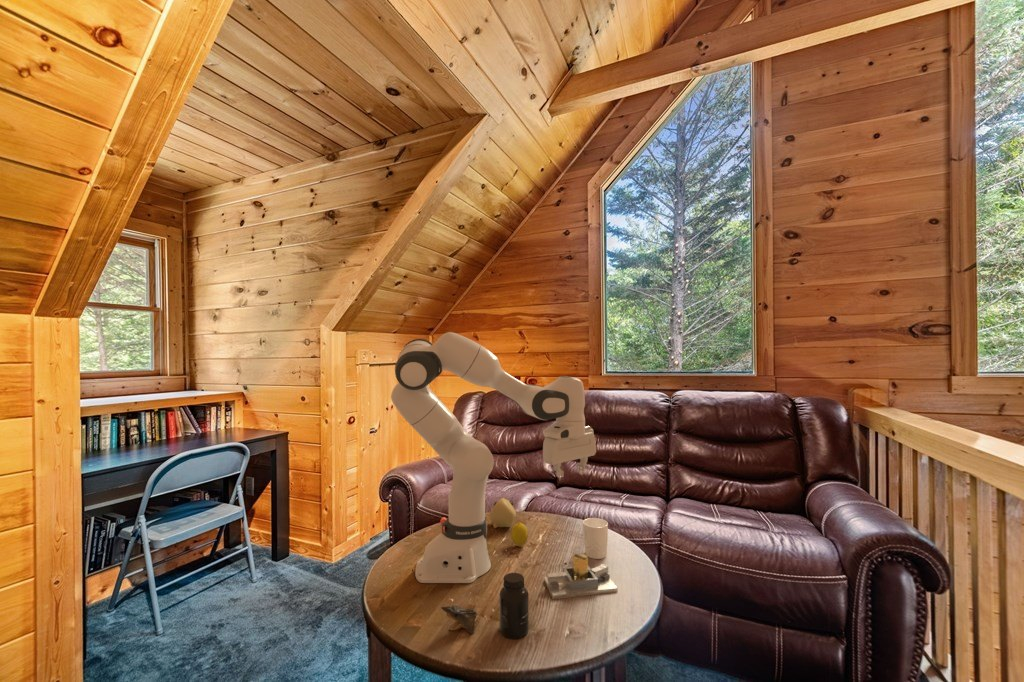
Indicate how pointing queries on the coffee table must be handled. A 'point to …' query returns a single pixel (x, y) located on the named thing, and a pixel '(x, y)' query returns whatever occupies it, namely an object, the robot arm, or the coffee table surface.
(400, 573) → the coffee table surface
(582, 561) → the cylinder
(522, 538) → the lemon
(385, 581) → the coffee table surface
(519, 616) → the supplement bottle
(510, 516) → the pale yellow wedge piece
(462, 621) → the shark head
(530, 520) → the coffee table surface
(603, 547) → the white cup
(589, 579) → the shaft rig
